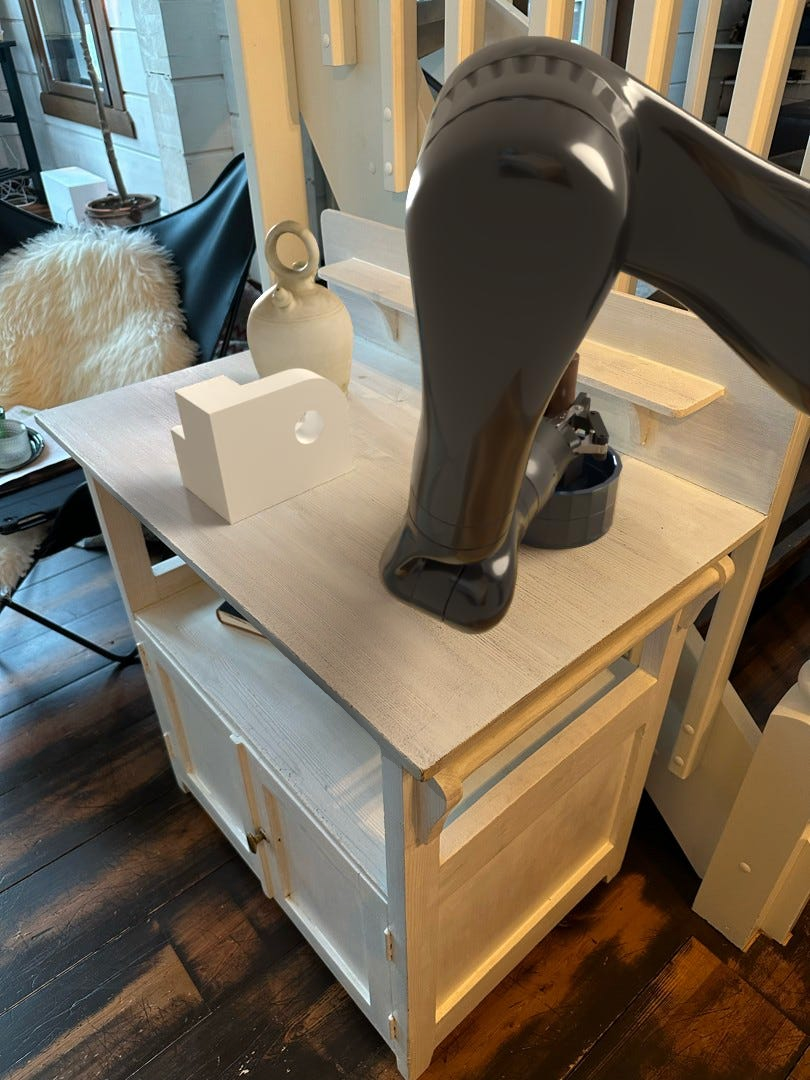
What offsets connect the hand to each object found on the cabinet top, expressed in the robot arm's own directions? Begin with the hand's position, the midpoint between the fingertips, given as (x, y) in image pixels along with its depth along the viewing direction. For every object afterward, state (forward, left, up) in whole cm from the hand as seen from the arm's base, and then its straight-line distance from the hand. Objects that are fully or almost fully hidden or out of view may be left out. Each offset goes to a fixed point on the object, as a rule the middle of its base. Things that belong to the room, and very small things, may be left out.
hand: (567, 397), depth 82 cm
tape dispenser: (+31, +18, -13) cm, 38 cm away
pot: (-1, +3, -13) cm, 13 cm away
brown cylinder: (-1, +3, -8) cm, 9 cm away
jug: (+45, -2, -13) cm, 47 cm away
